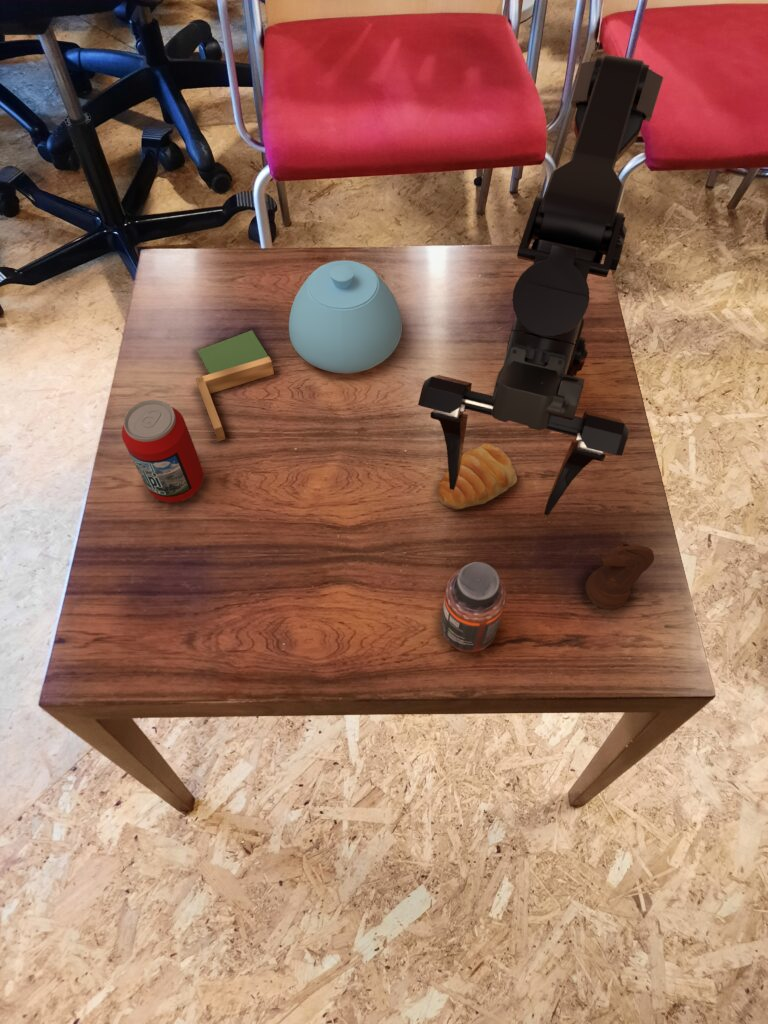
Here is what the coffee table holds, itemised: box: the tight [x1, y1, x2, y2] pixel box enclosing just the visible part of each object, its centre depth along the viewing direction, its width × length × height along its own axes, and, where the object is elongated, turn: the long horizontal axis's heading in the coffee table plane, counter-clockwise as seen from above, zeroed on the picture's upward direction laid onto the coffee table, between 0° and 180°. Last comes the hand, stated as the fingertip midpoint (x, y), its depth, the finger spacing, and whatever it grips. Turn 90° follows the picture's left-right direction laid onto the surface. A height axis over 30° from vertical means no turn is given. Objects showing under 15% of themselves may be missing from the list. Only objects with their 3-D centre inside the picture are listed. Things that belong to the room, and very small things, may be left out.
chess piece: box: [585, 541, 655, 611], centre depth 76 cm, size 5×5×10 cm
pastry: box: [437, 443, 518, 510], centre depth 86 cm, size 9×7×4 cm
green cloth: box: [196, 329, 270, 374], centre depth 98 cm, size 8×6×1 cm
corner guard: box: [195, 356, 275, 442], centre depth 93 cm, size 10×9×2 cm
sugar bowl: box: [288, 260, 403, 375], centre depth 95 cm, size 15×15×12 cm
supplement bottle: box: [440, 561, 507, 653], centre depth 73 cm, size 6×6×11 cm
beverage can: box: [121, 399, 204, 503], centre depth 82 cm, size 7×7×12 cm
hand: (498, 501), depth 70 cm, fingers open, 9 cm apart
